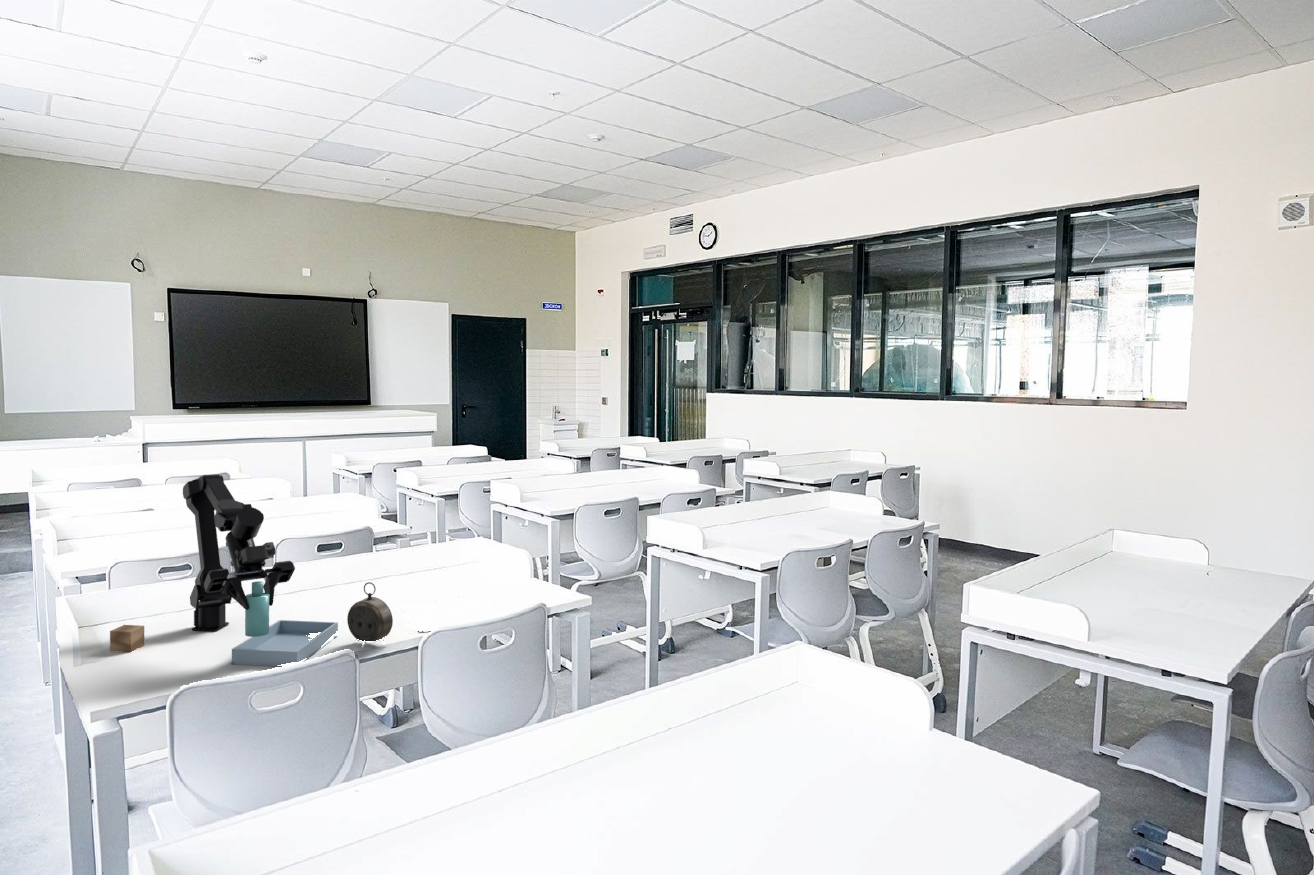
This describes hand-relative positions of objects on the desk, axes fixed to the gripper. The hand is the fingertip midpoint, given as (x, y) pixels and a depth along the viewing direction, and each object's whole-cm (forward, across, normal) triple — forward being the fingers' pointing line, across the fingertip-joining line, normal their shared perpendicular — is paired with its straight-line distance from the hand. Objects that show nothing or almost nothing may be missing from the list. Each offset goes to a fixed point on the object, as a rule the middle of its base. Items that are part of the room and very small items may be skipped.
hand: (259, 606), depth 189 cm
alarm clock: (+12, +25, +7) cm, 29 cm away
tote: (+5, +9, +14) cm, 17 cm away
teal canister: (+4, 0, +6) cm, 7 cm away
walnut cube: (-12, -20, +31) cm, 38 cm away
